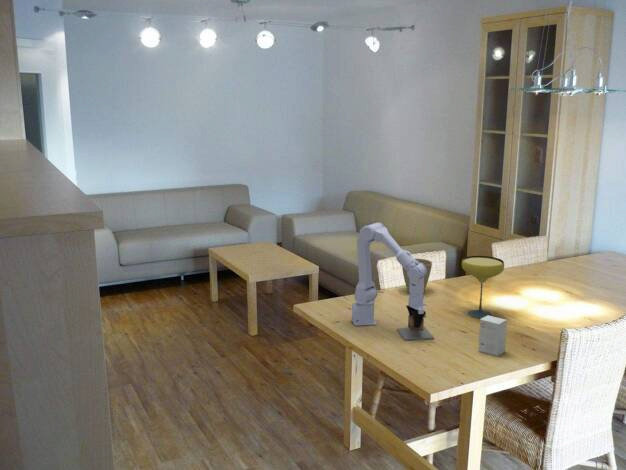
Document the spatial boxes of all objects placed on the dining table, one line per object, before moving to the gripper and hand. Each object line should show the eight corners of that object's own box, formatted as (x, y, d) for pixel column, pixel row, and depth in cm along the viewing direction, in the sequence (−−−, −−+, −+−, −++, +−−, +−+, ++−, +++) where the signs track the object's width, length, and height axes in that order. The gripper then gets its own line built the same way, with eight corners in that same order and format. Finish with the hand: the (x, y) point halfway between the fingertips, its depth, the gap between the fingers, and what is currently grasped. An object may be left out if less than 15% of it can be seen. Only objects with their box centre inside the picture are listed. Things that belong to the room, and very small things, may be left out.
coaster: (404, 340, 250) (404, 339, 250) (396, 330, 261) (396, 328, 261) (433, 339, 251) (433, 337, 251) (424, 328, 263) (424, 326, 263)
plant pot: (433, 297, 303) (434, 265, 300) (402, 297, 304) (403, 265, 300) (428, 288, 318) (429, 258, 314) (399, 288, 318) (400, 258, 315)
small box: (505, 351, 239) (507, 319, 236) (497, 356, 234) (499, 324, 231) (485, 346, 244) (487, 314, 241) (477, 351, 240) (479, 318, 237)
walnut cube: (411, 331, 253) (411, 319, 252) (408, 326, 258) (408, 315, 257) (423, 330, 254) (423, 319, 253) (419, 326, 259) (420, 314, 257)
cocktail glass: (500, 309, 286) (504, 257, 280) (501, 323, 269) (504, 267, 263) (460, 306, 290) (462, 254, 285) (458, 319, 273) (461, 264, 268)
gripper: (431, 298, 246) (430, 330, 249) (420, 287, 260) (419, 318, 263) (414, 299, 245) (413, 331, 248) (404, 288, 259) (403, 319, 262)
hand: (415, 324), depth 255 cm, fingers closed on walnut cube, 5 cm apart
